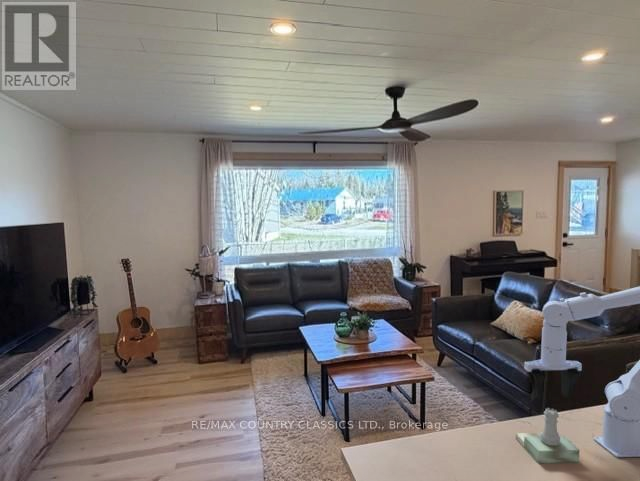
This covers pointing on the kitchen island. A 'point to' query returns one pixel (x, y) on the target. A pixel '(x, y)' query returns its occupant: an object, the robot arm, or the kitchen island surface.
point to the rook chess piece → (550, 428)
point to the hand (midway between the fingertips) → (551, 396)
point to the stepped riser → (548, 449)
